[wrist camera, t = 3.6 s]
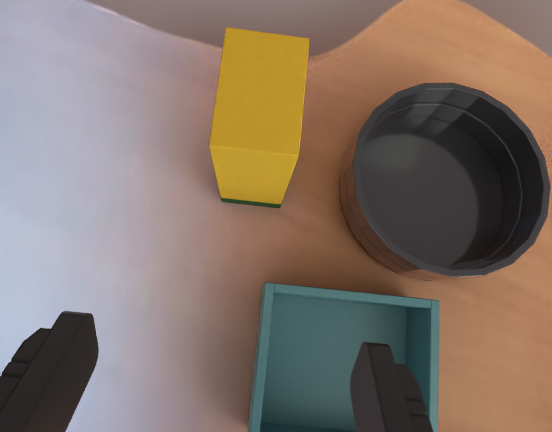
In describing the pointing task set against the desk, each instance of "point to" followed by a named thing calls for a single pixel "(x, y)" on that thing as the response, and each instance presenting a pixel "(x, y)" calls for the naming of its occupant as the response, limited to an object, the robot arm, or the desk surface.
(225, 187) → the sponge
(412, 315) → the sponge caddy
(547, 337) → the desk surface
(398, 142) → the bowl
